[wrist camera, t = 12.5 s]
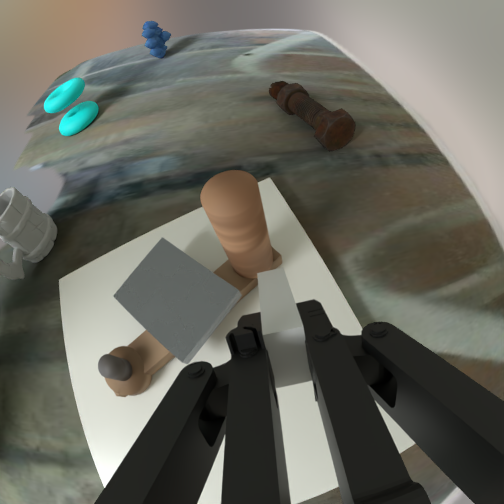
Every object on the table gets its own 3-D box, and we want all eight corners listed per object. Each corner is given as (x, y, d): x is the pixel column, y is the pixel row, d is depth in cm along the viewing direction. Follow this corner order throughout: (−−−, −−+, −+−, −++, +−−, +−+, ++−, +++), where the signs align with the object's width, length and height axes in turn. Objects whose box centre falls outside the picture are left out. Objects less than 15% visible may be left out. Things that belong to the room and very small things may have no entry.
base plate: (134, 529, 17) (126, 533, 15) (66, 284, 31) (58, 279, 30) (413, 438, 18) (419, 440, 17) (271, 186, 33) (269, 177, 32)
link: (128, 404, 22) (44, 394, 13) (105, 366, 24) (24, 339, 15) (288, 267, 26) (278, 191, 17) (255, 238, 28) (232, 157, 19)
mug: (65, 218, 37) (17, 167, 27) (39, 293, 32) (-24, 251, 21) (37, 222, 38) (-8, 178, 28) (13, 288, 33) (-43, 251, 23)
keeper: (139, 313, 28) (112, 296, 24) (181, 261, 30) (162, 236, 26) (202, 369, 25) (182, 362, 20) (249, 309, 27) (239, 290, 22)
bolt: (283, 106, 44) (343, 154, 36) (257, 102, 41) (316, 152, 33) (295, 75, 40) (362, 117, 32) (269, 69, 37) (336, 110, 29)
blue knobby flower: (174, 61, 57) (160, 20, 47) (148, 69, 58) (132, 30, 48) (180, 45, 63) (168, 10, 53) (157, 52, 64) (143, 18, 53)
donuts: (61, 98, 39) (33, 110, 41) (85, 134, 48) (56, 141, 50) (89, 70, 44) (60, 82, 46) (108, 104, 52) (78, 112, 55)
